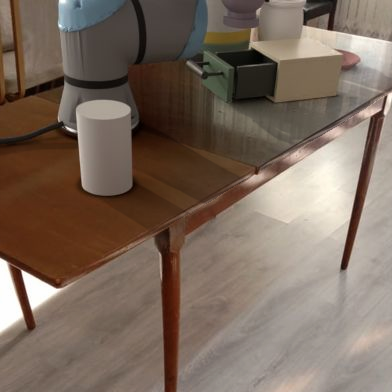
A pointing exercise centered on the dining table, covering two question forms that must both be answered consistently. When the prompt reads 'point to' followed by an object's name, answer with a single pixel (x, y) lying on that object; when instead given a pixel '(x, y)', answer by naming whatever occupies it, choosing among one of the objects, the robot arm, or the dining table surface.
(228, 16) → the cat figurine
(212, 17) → the vase
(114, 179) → the white cylinder
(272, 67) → the drawer
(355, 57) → the plate
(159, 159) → the dining table surface
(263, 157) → the dining table surface
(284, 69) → the cabinet
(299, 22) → the jar
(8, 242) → the dining table surface
